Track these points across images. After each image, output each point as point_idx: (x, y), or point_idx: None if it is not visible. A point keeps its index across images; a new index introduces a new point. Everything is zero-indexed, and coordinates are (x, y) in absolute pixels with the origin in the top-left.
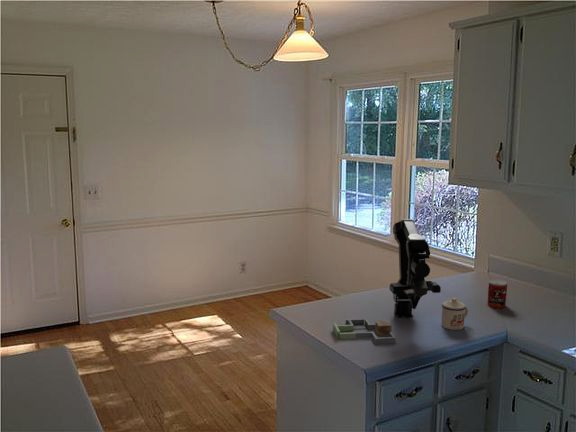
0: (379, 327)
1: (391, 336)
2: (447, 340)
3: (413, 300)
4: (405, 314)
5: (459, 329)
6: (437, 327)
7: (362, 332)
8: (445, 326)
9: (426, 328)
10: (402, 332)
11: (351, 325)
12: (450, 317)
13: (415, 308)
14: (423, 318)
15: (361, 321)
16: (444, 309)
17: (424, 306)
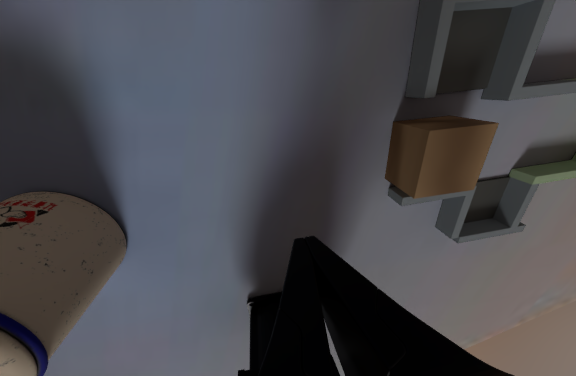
0: (485, 121)
1: (440, 41)
2: (81, 24)
3: (372, 312)
4: (277, 304)
5: (15, 196)
6: (149, 218)
7: (561, 88)
8: (99, 214)
9: (206, 203)
10: (331, 152)
11: (543, 175)
12: (8, 240)
13: (295, 241)
14: (207, 293)
15: (463, 230)
16: (25, 308)
17: (192, 371)
